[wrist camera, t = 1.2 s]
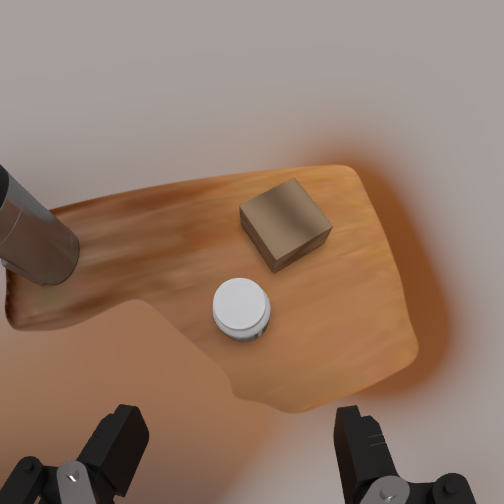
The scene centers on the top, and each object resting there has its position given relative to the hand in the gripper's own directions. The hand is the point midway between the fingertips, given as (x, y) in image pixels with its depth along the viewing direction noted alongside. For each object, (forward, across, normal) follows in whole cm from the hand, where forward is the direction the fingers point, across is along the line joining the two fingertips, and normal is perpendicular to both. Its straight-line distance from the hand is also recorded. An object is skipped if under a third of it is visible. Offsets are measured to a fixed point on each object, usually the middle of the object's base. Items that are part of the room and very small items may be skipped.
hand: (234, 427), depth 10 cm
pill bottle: (+24, +2, +7) cm, 25 cm away
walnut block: (+30, -3, -2) cm, 30 cm away
